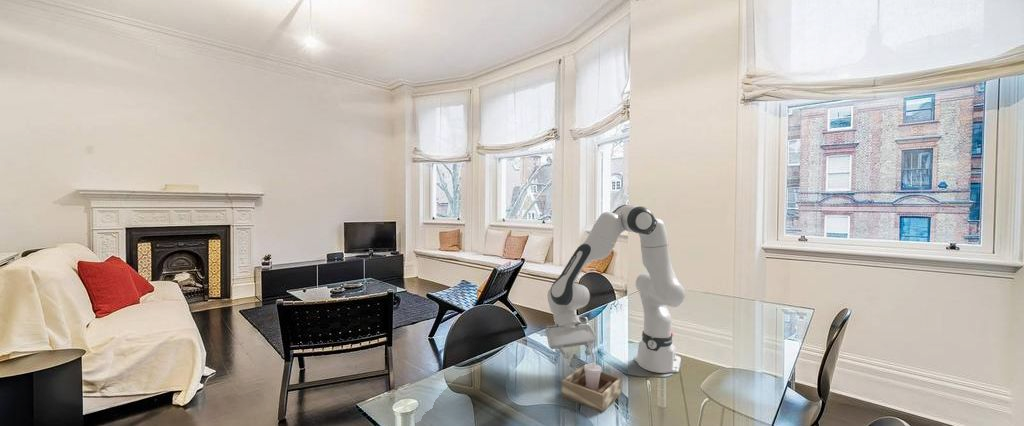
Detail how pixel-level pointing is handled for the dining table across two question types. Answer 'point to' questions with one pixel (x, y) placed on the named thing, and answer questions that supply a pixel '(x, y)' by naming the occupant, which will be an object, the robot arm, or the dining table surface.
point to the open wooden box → (592, 390)
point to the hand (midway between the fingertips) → (578, 356)
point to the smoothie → (592, 374)
